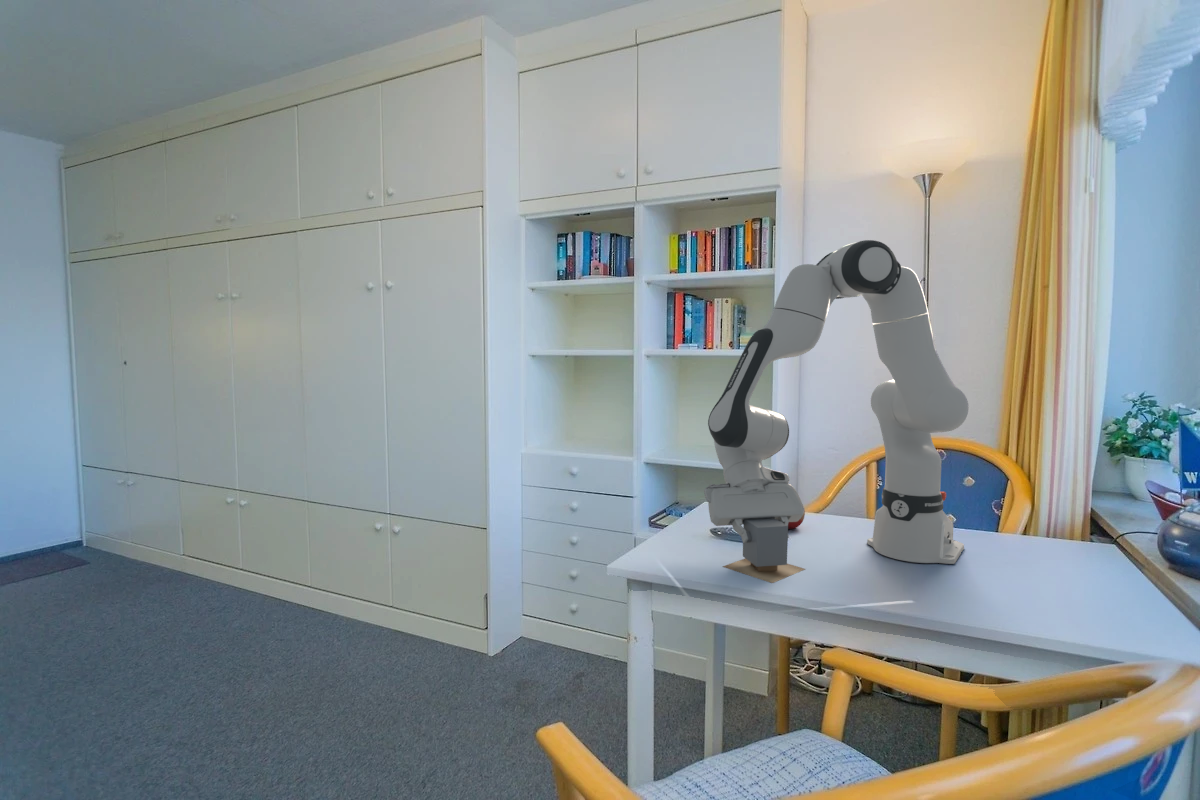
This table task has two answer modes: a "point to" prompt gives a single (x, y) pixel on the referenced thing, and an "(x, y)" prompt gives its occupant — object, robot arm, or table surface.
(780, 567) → the cork mat
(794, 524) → the fruit
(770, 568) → the walnut block
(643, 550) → the table surface
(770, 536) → the plain grey cube
